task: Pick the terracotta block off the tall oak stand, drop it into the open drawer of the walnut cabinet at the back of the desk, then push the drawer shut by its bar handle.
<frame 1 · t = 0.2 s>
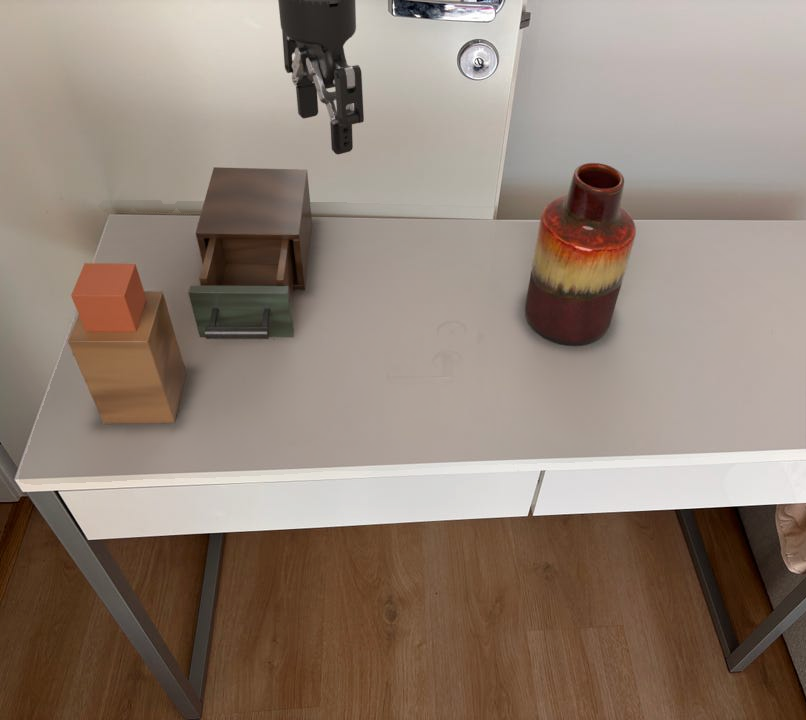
hand: (325, 133, 85), 18 cm above the table, tool pointing down, fingers open, 8 cm apart
block: (116, 315, 72), point 12 cm above the table, touching stand
drawer: (247, 290, 87), point 4 cm above the table, slide at 8.0 cm
cabinet: (263, 255, 98), on the table
vase: (566, 317, 95), on the table
stand: (146, 397, 80), on the table
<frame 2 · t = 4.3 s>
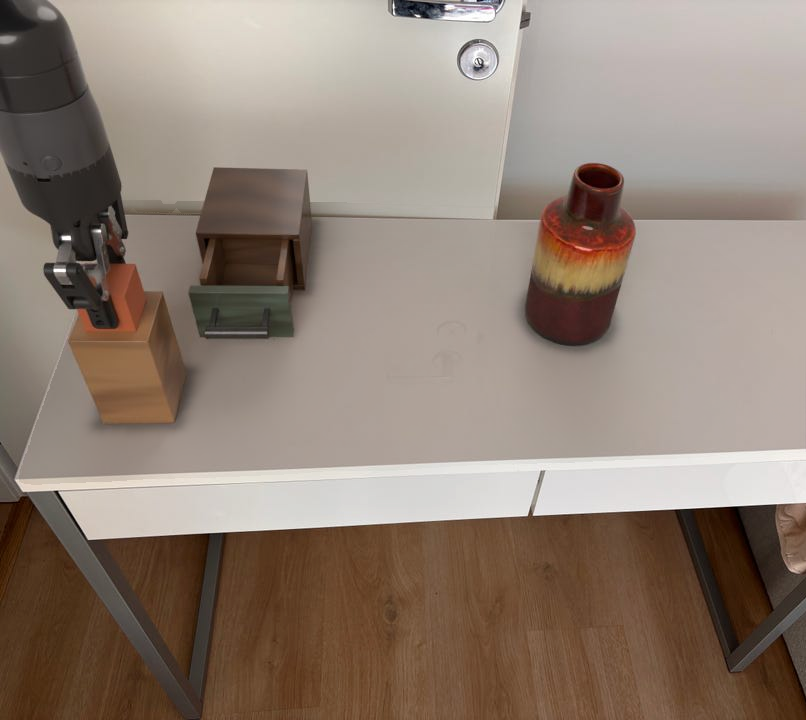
hand: (113, 306, 71), 13 cm above the table, tool pointing down, fingers closed on block, 4 cm apart
block: (116, 315, 71), point 12 cm above the table, touching gripper, stand
everything else where it was.
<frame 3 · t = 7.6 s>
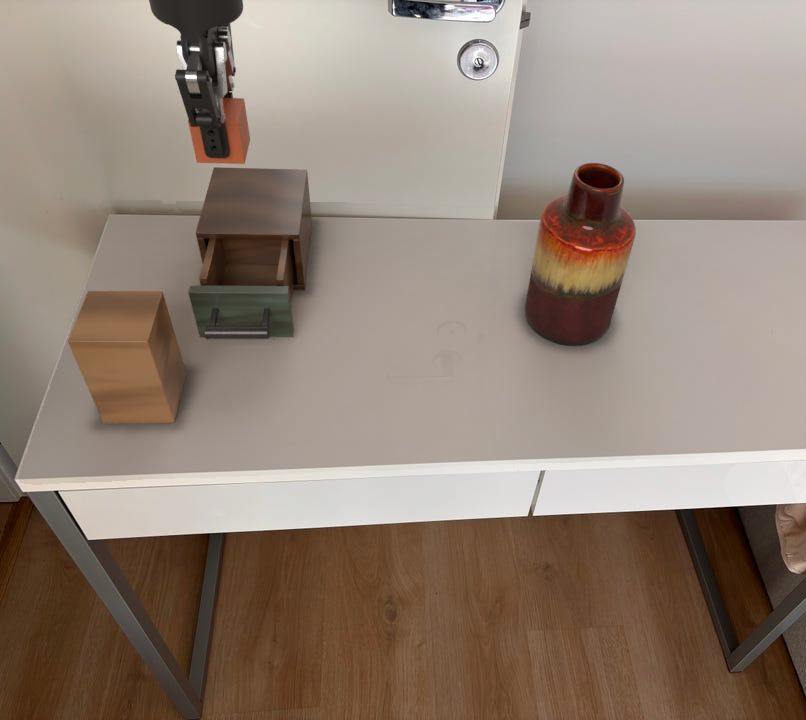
hand: (222, 141, 74), 23 cm above the table, tool pointing down, fingers closed on block, 4 cm apart
block: (224, 151, 75), point 22 cm above the table, touching gripper
everything else where it was.
when the fingers open (7 cm above the table, at t = 11.2 s): block drops 4 cm, resting on drawer.
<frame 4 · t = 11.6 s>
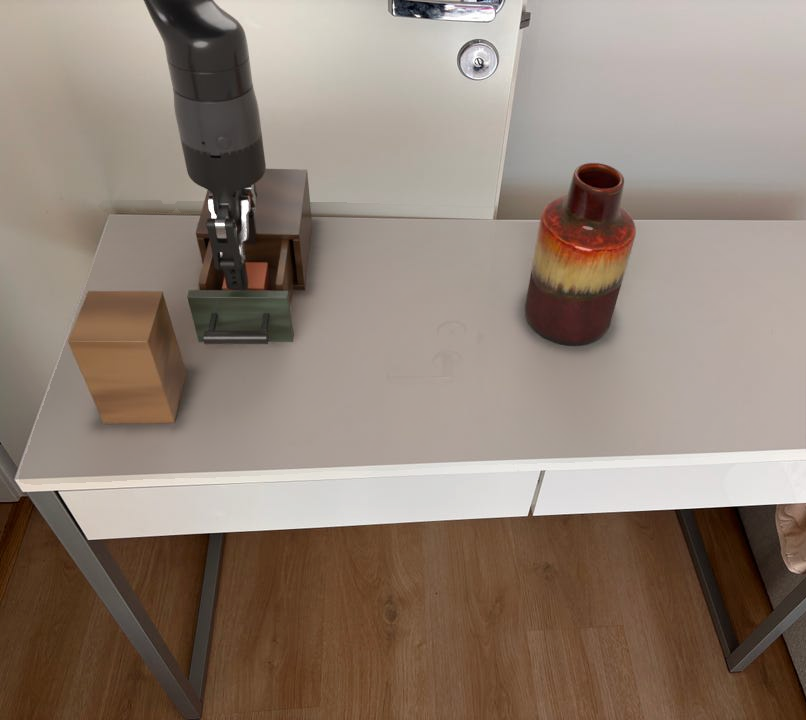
hand: (243, 264, 84), 8 cm above the table, tool pointing down, fingers open, 7 cm apart
block: (250, 304, 88), point 2 cm above the table, touching drawer
drawer: (246, 295, 86), point 4 cm above the table, slide at 8.8 cm, touching block
everything else where it was.
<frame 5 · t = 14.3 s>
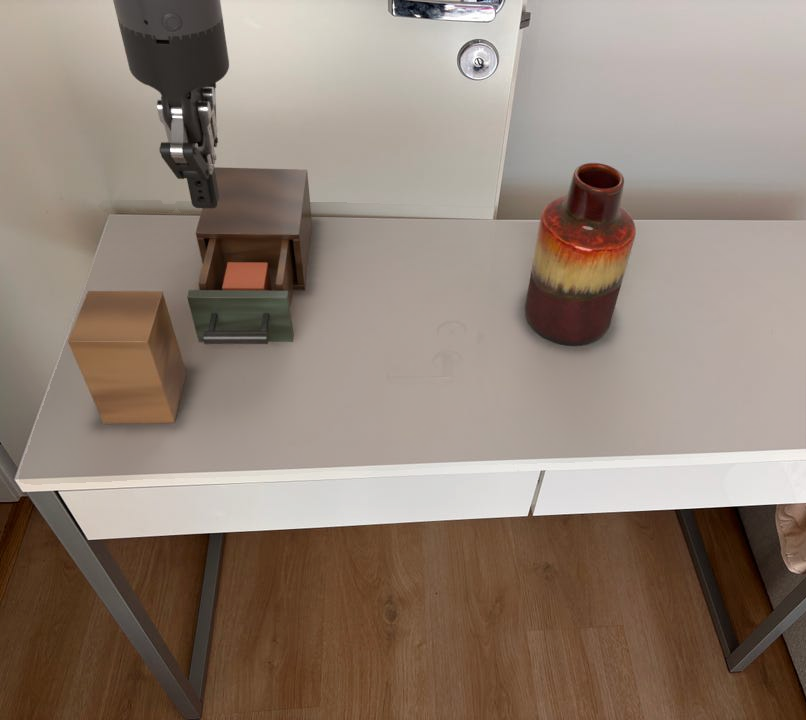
hand: (206, 203, 69), 21 cm above the table, tool pointing down, fingers closed
nothing on the table moved.
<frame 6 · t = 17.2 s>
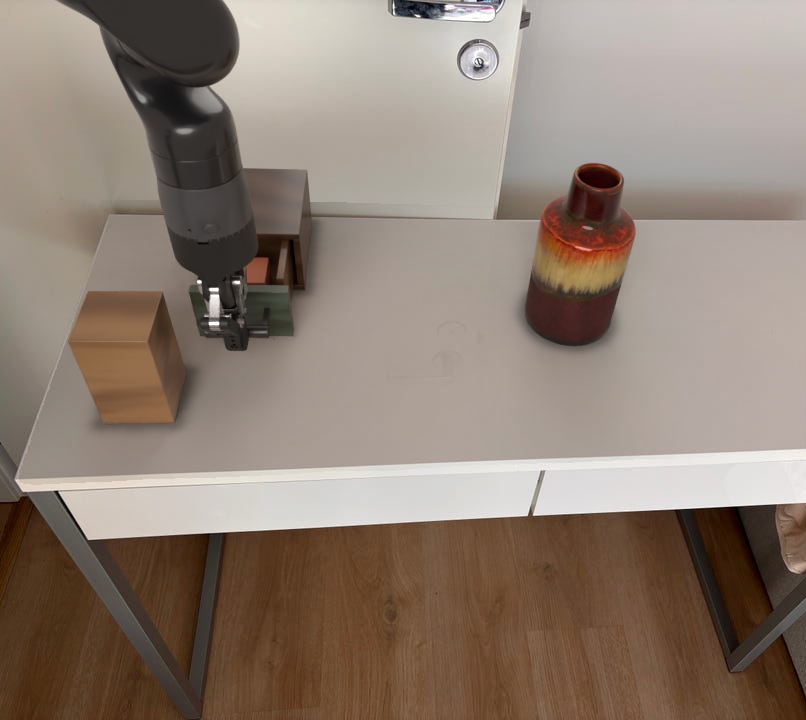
hand: (238, 346, 80), 5 cm above the table, tool pointing down, fingers closed
drawer: (247, 290, 87), point 4 cm above the table, slide at 7.9 cm, touching block, gripper
everything else where it was.
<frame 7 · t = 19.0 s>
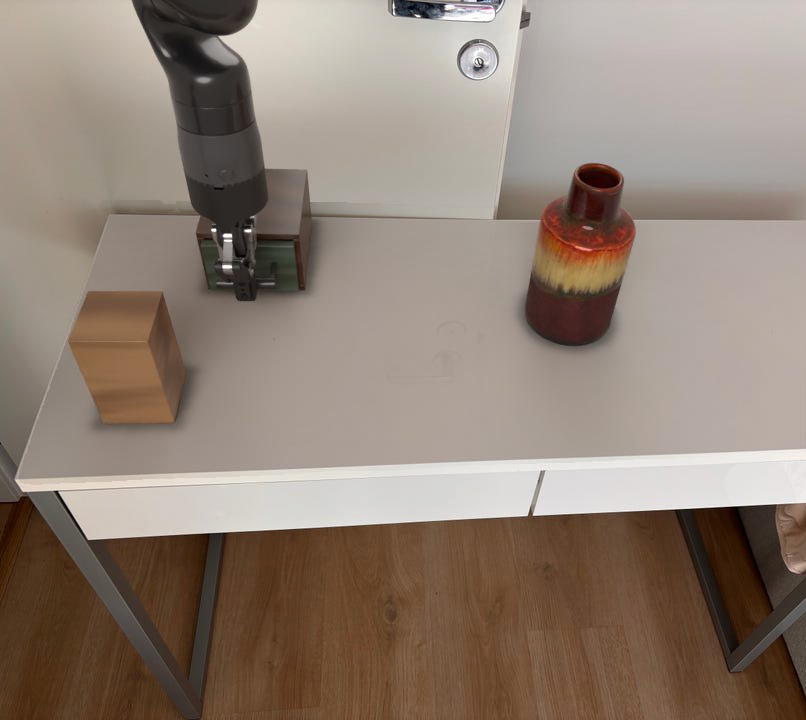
hand: (247, 297, 85), 5 cm above the table, tool pointing down, fingers closed
block: (259, 256, 94), point 2 cm above the table, touching drawer
drawer: (255, 247, 92), point 4 cm above the table, slide at 0.0 cm, touching block, cabinet, gripper
everything else where it was.
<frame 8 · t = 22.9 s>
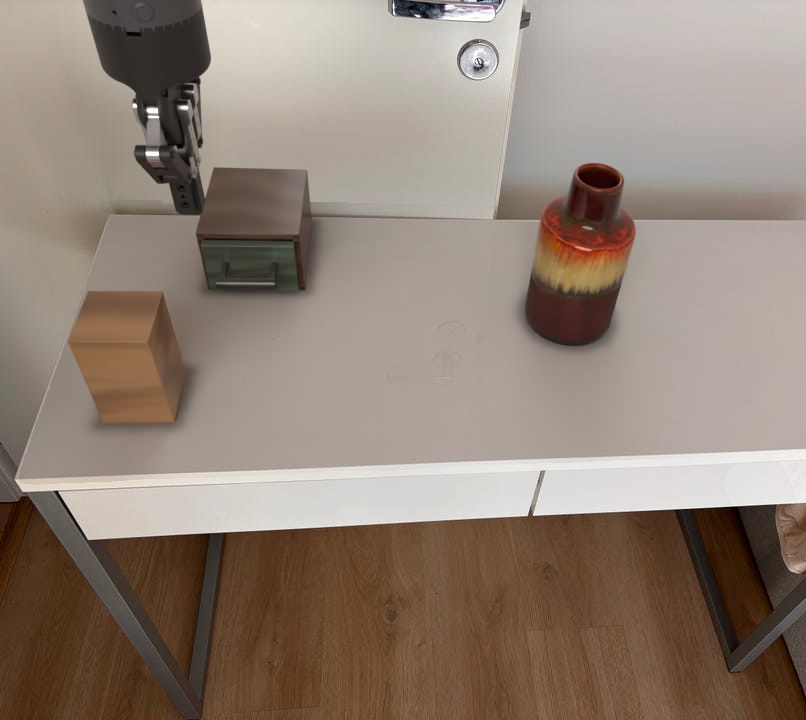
hand: (191, 209, 64), 24 cm above the table, tool pointing down, fingers closed
drawer: (255, 247, 92), point 4 cm above the table, slide at 0.0 cm, touching block
everything else where it was.
at the end: block inside the target area in the cabinet (2.7 cm from its centre), point 2.0 cm above the cabinet's base; drawer slide at 0.0 cm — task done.
